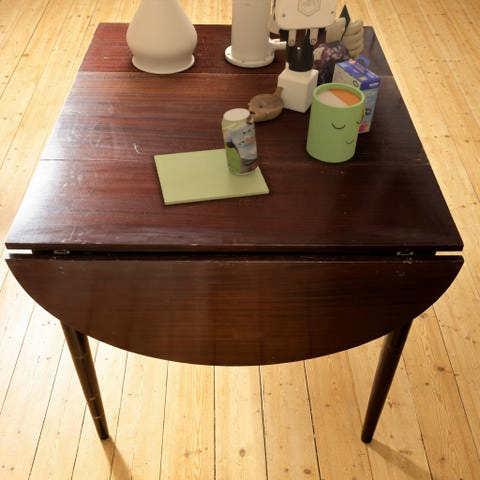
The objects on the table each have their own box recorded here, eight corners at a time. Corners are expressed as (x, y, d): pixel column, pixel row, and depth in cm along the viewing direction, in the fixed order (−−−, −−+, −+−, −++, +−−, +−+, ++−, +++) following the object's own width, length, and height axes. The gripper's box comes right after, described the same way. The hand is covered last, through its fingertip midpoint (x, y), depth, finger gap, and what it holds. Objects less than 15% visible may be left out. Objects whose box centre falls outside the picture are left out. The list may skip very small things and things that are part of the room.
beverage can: (254, 180, 119) (257, 124, 110) (218, 175, 120) (218, 119, 111) (260, 163, 123) (263, 107, 114) (224, 158, 124) (225, 102, 115)
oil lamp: (259, 131, 132) (260, 110, 129) (234, 118, 136) (234, 97, 132) (297, 110, 139) (299, 89, 135) (272, 98, 142) (274, 78, 139)
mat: (249, 148, 128) (249, 146, 127) (268, 193, 117) (269, 190, 117) (154, 158, 124) (153, 155, 124) (165, 205, 114) (165, 202, 113)
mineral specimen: (306, 61, 152) (327, 25, 145) (341, 83, 153) (364, 48, 146) (298, 77, 145) (319, 40, 138) (335, 100, 147) (358, 65, 140)
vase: (198, 45, 161) (195, -62, 143) (197, 76, 149) (194, -37, 131) (131, 44, 160) (120, -64, 142) (125, 75, 148) (112, -39, 130)
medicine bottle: (315, 99, 143) (321, 48, 134) (304, 113, 138) (310, 61, 129) (286, 92, 145) (291, 41, 136) (275, 106, 140) (279, 54, 131)
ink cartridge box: (371, 131, 134) (384, 66, 123) (350, 137, 132) (362, 71, 121) (345, 111, 140) (356, 47, 129) (325, 116, 138) (334, 52, 127)
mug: (325, 168, 123) (333, 113, 115) (297, 143, 130) (303, 89, 121) (374, 153, 128) (386, 99, 119) (345, 129, 134) (354, 76, 125)
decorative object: (350, 60, 162) (355, 78, 155) (314, 49, 160) (318, 66, 153) (372, 12, 153) (379, 29, 146) (334, -1, 151) (339, 15, 144)
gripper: (266, -42, 91) (259, 78, 104) (365, -46, 93) (346, 71, 107) (254, -58, 96) (249, 58, 109) (349, -62, 98) (333, 52, 112)
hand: (297, 64), depth 108 cm, fingers closed
